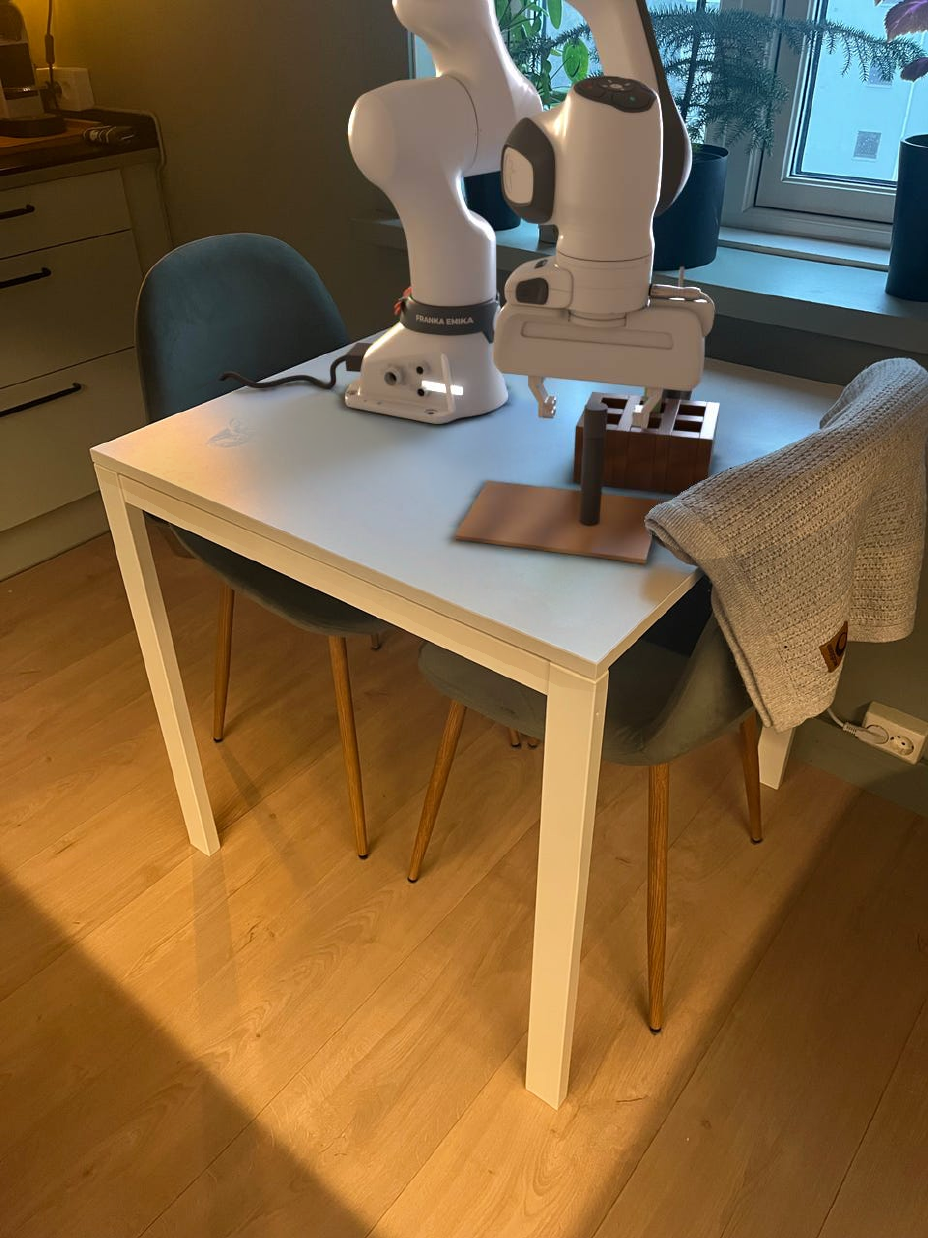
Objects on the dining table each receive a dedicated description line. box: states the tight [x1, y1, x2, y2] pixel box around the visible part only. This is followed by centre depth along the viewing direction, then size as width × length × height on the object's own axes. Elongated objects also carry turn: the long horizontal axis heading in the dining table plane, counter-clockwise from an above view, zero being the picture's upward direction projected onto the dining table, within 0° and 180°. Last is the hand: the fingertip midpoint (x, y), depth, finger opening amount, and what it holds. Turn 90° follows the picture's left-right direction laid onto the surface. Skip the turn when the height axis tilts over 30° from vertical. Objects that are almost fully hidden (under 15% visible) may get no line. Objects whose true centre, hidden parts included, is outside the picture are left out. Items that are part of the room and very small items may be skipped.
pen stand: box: [572, 391, 721, 495], centre depth 111 cm, size 15×10×7 cm
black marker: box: [579, 402, 608, 526], centre depth 99 cm, size 2×2×13 cm
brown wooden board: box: [454, 480, 663, 565], centre depth 103 cm, size 20×13×1 cm, turn 73°
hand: (592, 420), depth 96 cm, fingers open, 8 cm apart
